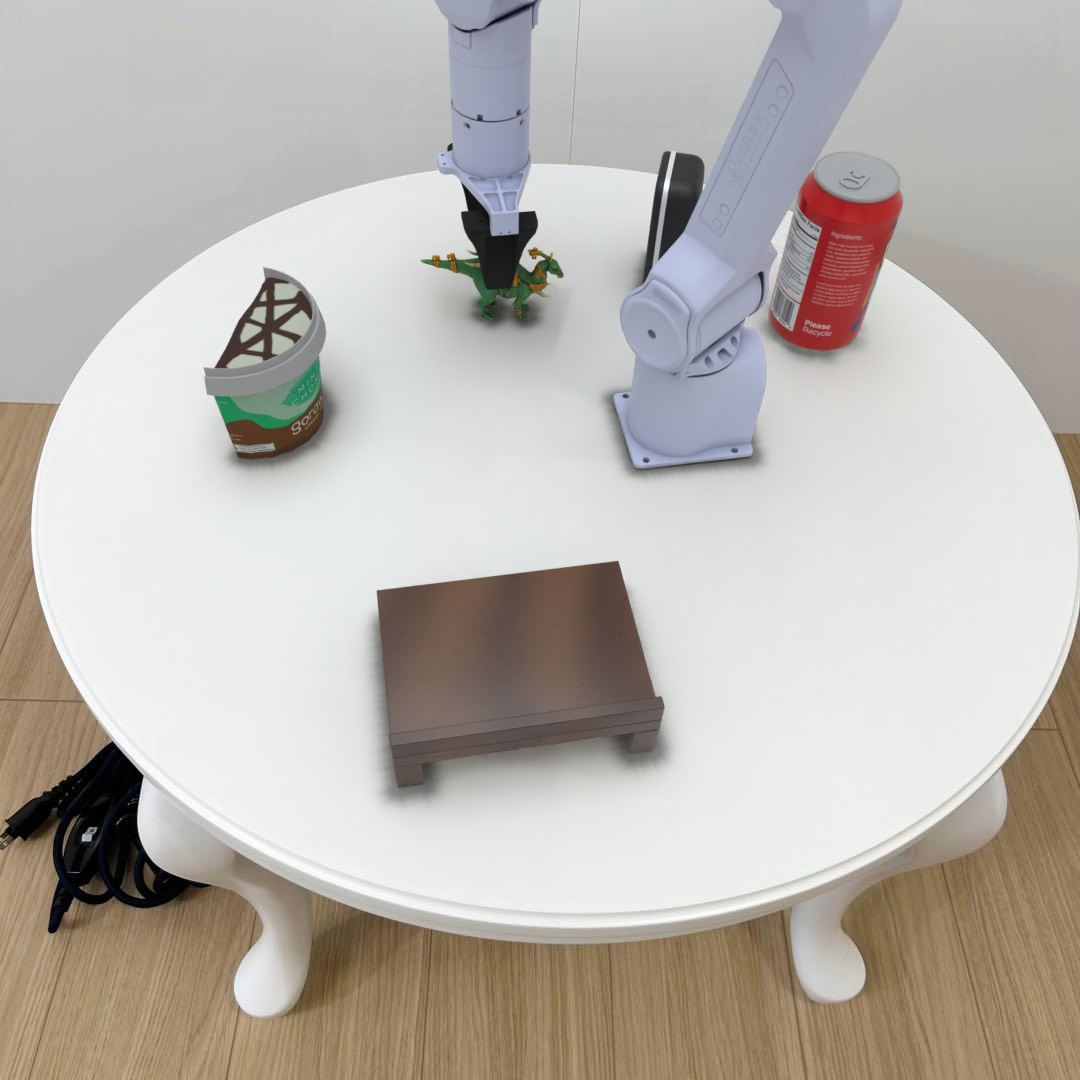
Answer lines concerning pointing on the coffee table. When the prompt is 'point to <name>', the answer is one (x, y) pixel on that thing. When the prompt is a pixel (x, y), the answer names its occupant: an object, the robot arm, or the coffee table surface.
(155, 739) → the coffee table surface
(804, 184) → the soda can
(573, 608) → the display stand
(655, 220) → the battery charger
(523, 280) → the figurine
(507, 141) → the robot arm
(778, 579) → the coffee table surface
